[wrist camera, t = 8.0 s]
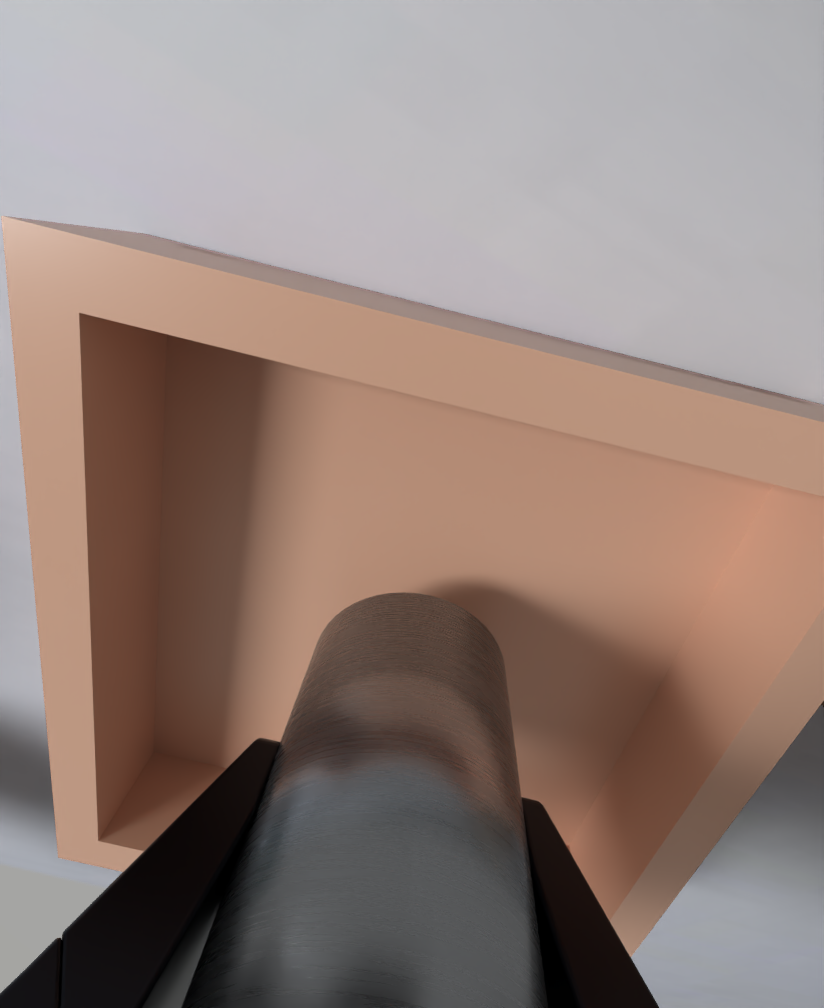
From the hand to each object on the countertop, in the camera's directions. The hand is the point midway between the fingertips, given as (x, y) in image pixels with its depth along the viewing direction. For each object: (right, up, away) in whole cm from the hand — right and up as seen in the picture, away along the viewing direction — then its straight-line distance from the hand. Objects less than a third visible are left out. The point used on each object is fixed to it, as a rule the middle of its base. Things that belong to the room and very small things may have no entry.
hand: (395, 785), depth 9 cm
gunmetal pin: (0, +1, +2) cm, 3 cm away
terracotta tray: (0, +2, +5) cm, 5 cm away
